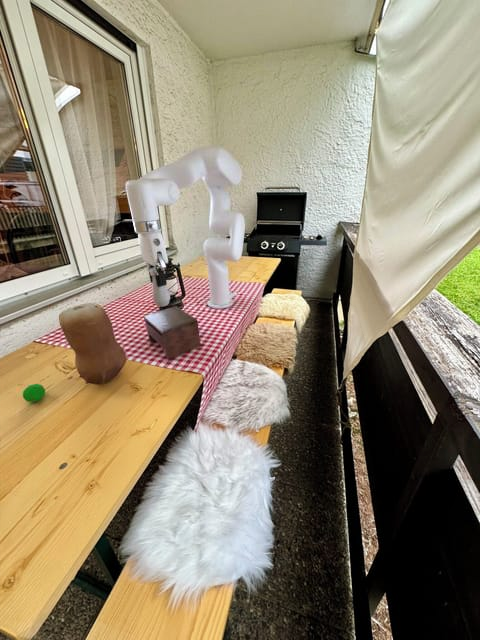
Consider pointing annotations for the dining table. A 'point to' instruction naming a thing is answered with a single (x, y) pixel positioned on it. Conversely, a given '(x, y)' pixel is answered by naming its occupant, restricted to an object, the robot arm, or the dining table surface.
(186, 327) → the dark walnut cube
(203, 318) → the dining table surface
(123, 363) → the butternut squash
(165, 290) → the salt shaker
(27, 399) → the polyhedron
